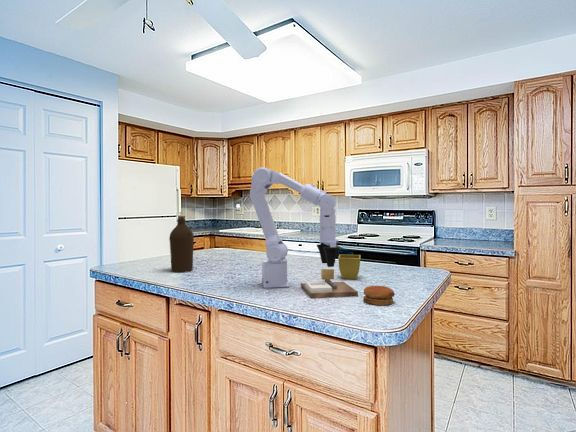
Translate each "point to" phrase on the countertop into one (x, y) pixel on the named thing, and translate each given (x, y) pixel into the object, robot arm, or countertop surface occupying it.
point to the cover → (318, 286)
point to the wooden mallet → (328, 277)
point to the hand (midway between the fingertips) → (327, 264)
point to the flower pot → (349, 266)
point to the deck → (333, 291)
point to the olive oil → (181, 247)
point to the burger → (378, 295)
